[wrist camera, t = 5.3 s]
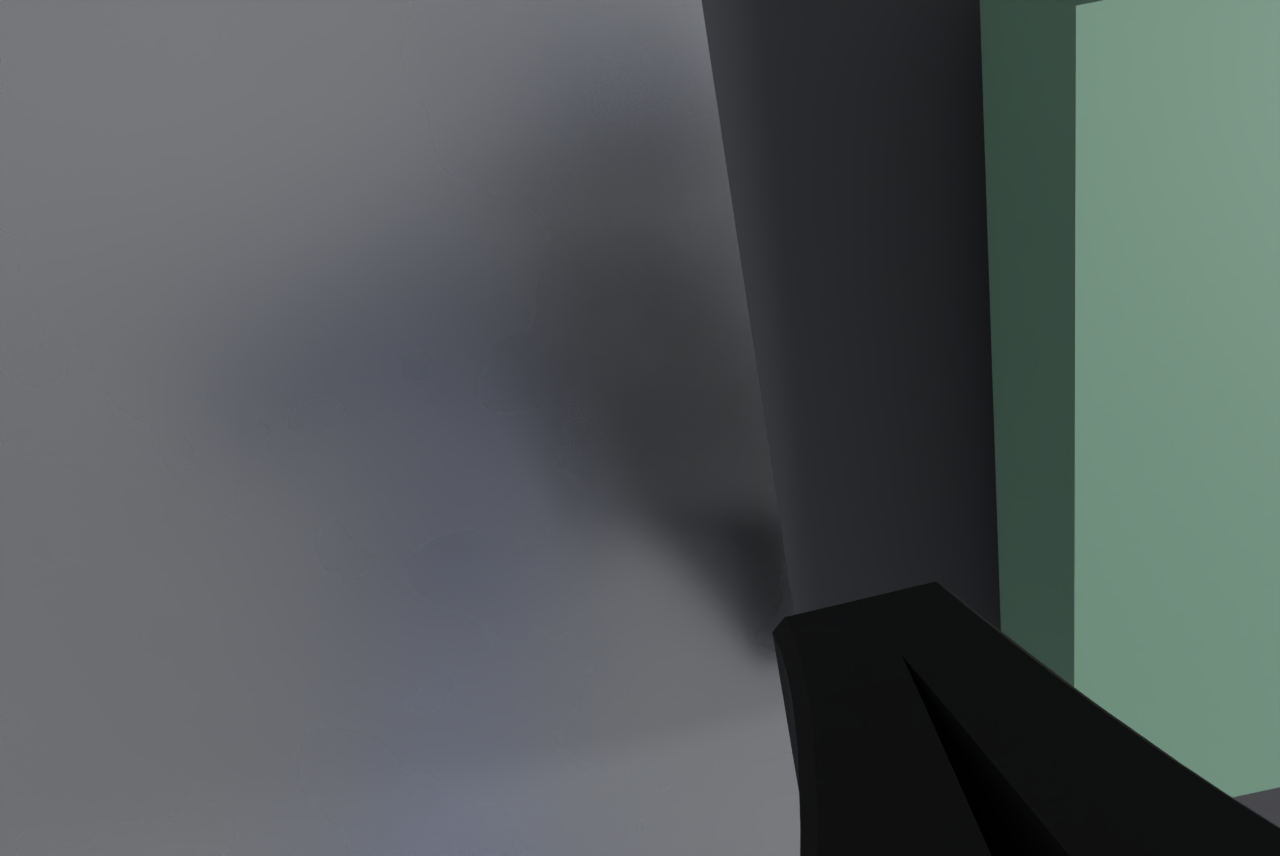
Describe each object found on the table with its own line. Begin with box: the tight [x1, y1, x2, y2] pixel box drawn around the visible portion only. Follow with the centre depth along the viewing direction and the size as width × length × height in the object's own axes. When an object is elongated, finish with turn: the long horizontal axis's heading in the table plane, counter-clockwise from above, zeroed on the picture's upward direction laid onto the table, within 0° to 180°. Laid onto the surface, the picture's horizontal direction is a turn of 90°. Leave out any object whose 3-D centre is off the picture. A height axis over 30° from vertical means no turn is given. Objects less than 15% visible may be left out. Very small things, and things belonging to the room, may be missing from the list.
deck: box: [0, 0, 800, 856], centre depth 11 cm, size 18×14×4 cm
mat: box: [702, 0, 1280, 828], centre depth 13 cm, size 20×12×1 cm, turn 11°
